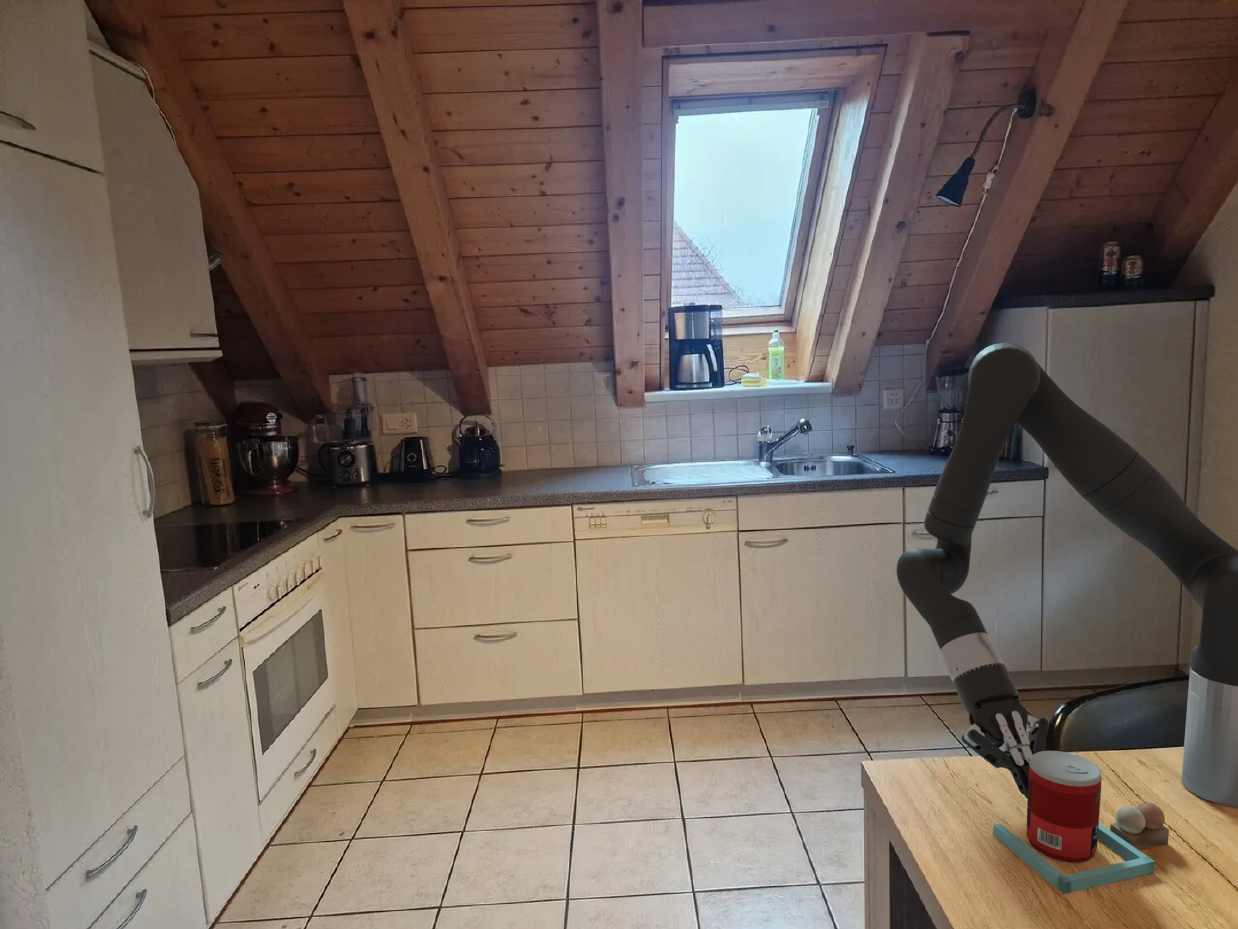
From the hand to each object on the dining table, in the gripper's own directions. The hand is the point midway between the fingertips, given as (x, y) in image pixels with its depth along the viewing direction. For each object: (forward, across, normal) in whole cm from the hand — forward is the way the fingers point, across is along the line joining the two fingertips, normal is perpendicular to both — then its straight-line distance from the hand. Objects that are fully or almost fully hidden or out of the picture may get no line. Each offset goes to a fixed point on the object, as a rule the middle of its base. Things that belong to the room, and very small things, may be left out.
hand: (1035, 796), depth 108 cm
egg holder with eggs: (+8, +10, -2) cm, 13 cm away
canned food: (+6, 0, 0) cm, 6 cm away
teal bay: (+7, 0, -1) cm, 7 cm away
